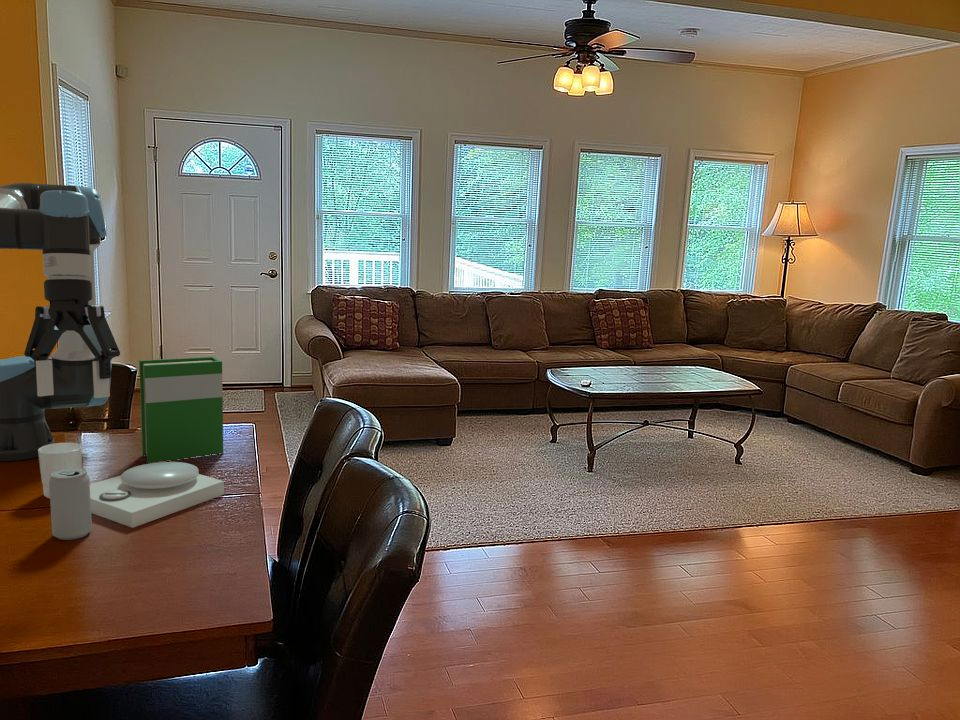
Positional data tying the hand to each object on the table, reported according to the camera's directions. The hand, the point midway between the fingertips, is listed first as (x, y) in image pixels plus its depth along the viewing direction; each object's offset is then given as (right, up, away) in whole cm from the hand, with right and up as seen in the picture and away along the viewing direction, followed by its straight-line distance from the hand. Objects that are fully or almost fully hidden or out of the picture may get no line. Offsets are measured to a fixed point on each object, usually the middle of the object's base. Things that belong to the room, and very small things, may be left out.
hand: (73, 396), depth 131 cm
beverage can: (-1, -26, +2) cm, 26 cm away
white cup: (-14, -22, +21) cm, 34 cm away
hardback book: (-1, -17, +50) cm, 53 cm away
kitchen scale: (+4, -23, +20) cm, 31 cm away
